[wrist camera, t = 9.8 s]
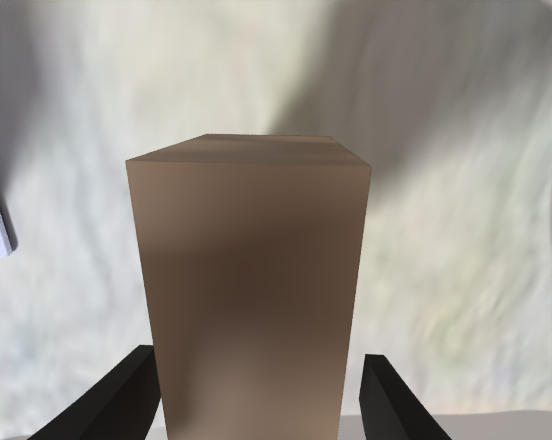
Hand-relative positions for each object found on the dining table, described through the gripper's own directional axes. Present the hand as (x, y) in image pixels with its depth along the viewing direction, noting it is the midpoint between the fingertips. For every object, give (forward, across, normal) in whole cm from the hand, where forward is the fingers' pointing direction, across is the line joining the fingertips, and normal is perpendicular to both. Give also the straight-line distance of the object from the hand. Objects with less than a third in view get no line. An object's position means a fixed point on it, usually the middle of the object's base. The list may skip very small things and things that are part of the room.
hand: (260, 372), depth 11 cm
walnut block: (+3, 0, -3) cm, 4 cm away
